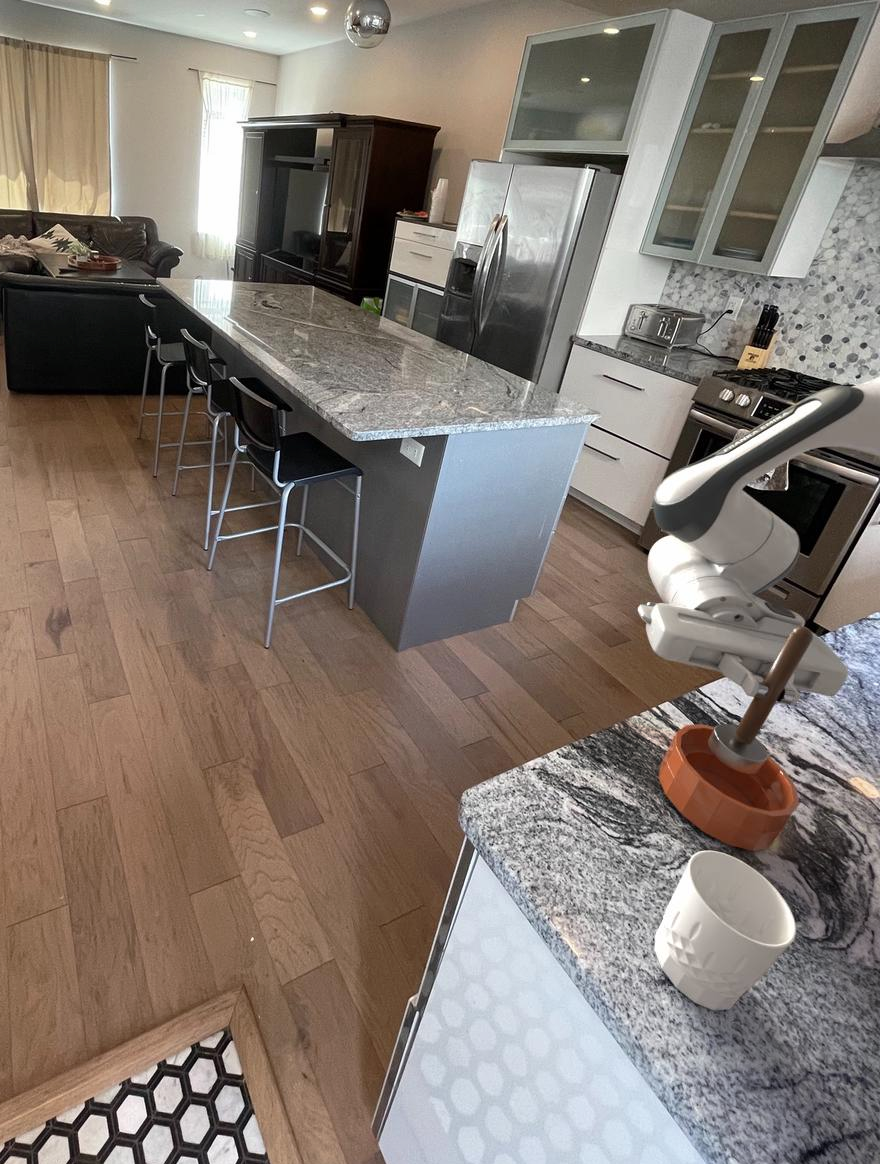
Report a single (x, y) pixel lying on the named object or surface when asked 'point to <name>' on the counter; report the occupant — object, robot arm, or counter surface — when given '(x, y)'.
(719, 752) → the wooden peg on disc
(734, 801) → the bowl
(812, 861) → the counter surface
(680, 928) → the white cup
